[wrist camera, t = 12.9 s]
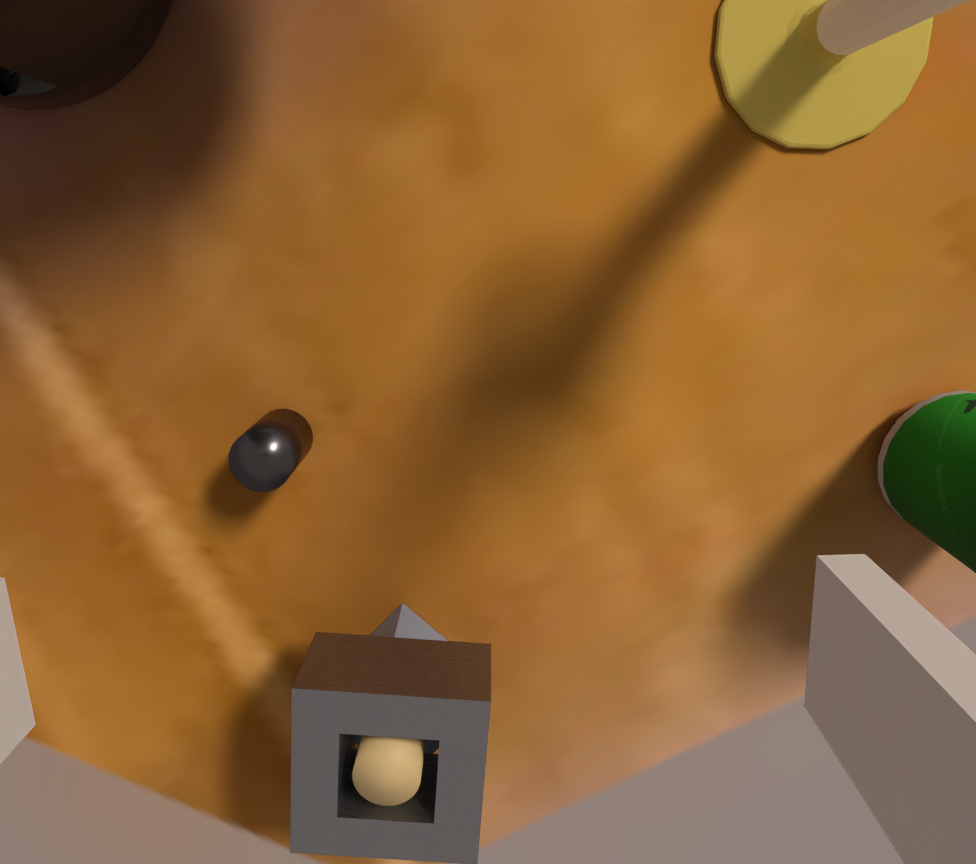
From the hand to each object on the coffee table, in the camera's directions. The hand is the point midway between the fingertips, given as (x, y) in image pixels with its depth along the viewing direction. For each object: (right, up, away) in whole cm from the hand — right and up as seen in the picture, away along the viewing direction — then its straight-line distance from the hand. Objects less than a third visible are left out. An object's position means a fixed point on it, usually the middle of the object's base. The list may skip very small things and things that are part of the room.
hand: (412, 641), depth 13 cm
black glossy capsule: (-10, +3, +29) cm, 31 cm away
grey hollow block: (-3, -11, +29) cm, 31 cm away
